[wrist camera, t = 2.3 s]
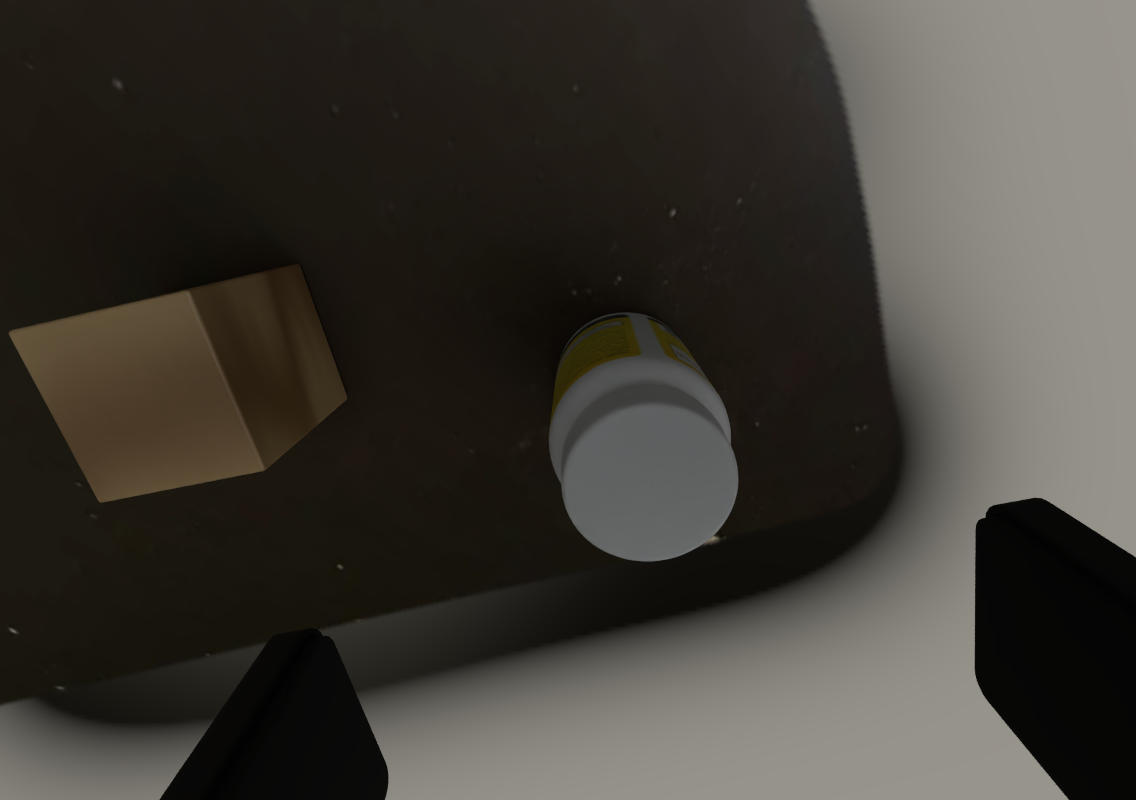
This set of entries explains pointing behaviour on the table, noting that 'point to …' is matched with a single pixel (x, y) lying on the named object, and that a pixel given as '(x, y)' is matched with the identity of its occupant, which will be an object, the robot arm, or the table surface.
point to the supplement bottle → (640, 440)
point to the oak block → (186, 381)
